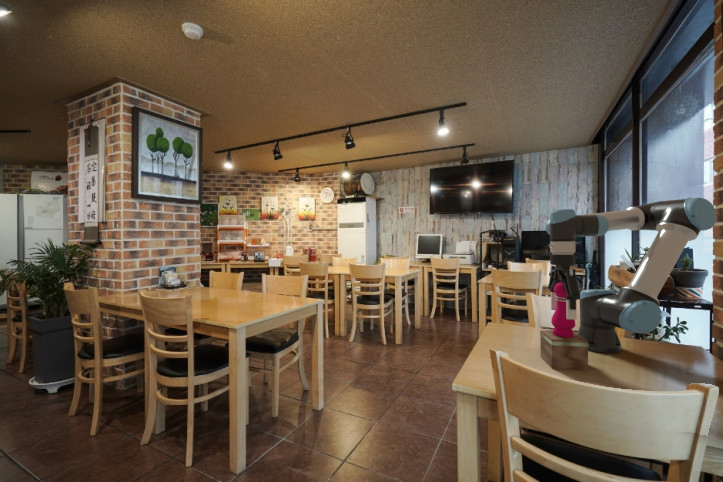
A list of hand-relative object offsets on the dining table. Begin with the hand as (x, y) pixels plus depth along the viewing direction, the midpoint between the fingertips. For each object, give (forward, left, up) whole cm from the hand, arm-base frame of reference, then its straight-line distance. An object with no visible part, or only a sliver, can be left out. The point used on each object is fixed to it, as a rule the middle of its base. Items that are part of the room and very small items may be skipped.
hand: (562, 314), depth 116 cm
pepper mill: (0, 0, -7) cm, 7 cm away
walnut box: (0, 0, -17) cm, 17 cm away
